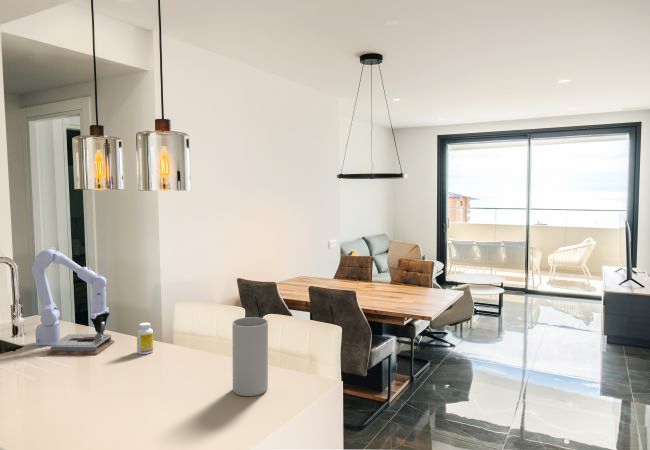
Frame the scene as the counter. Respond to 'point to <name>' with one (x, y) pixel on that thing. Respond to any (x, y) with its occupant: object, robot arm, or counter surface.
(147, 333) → the supplement bottle
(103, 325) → the dark grey knob
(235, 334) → the cylinder vase
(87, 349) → the keyhole plate
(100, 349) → the keyhole board
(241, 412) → the counter surface
